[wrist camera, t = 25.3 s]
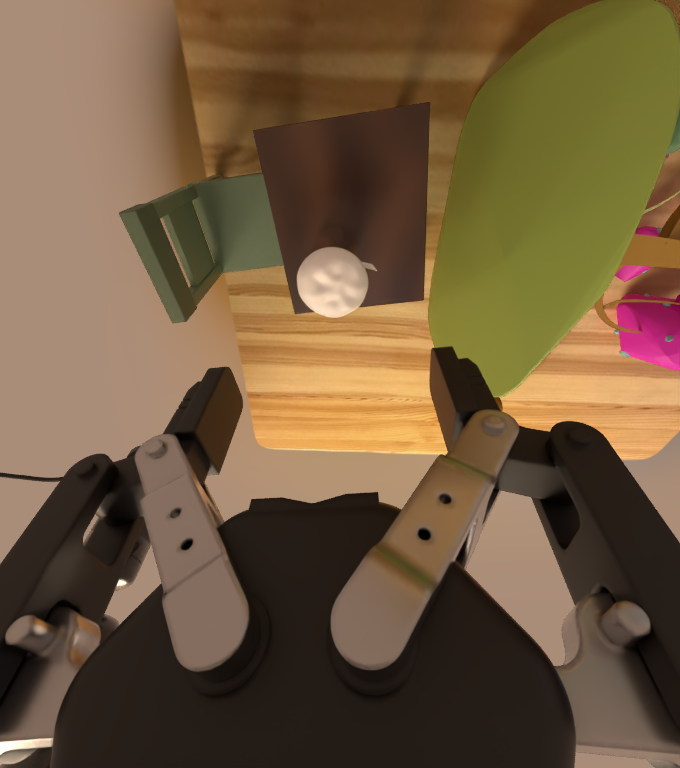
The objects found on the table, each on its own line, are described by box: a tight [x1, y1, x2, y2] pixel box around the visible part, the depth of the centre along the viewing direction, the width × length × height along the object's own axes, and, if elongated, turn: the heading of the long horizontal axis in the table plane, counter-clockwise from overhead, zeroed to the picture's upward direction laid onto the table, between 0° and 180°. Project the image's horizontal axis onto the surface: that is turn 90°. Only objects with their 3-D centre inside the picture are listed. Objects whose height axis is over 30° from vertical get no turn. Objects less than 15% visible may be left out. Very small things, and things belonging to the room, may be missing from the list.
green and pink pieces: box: [428, 0, 680, 397], centre depth 29 cm, size 30×28×35 cm
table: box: [253, 102, 430, 314], centre depth 32 cm, size 12×14×12 cm
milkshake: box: [297, 226, 377, 318], centre depth 24 cm, size 4×5×10 cm
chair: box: [119, 172, 284, 323], centre depth 30 cm, size 8×8×17 cm
